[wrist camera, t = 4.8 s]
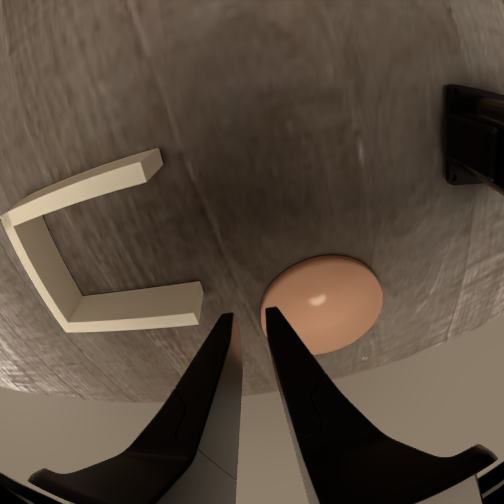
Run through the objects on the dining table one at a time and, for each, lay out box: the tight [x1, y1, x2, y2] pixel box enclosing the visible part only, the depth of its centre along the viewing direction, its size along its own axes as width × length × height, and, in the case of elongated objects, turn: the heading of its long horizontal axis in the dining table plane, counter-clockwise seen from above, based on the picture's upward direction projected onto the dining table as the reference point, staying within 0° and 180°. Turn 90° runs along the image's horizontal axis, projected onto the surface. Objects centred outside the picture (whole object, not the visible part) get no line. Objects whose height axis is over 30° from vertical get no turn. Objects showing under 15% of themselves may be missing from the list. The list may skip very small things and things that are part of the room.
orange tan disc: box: [260, 255, 383, 355], centre depth 20 cm, size 9×9×1 cm
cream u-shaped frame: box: [0, 148, 204, 332], centre depth 16 cm, size 11×10×3 cm
